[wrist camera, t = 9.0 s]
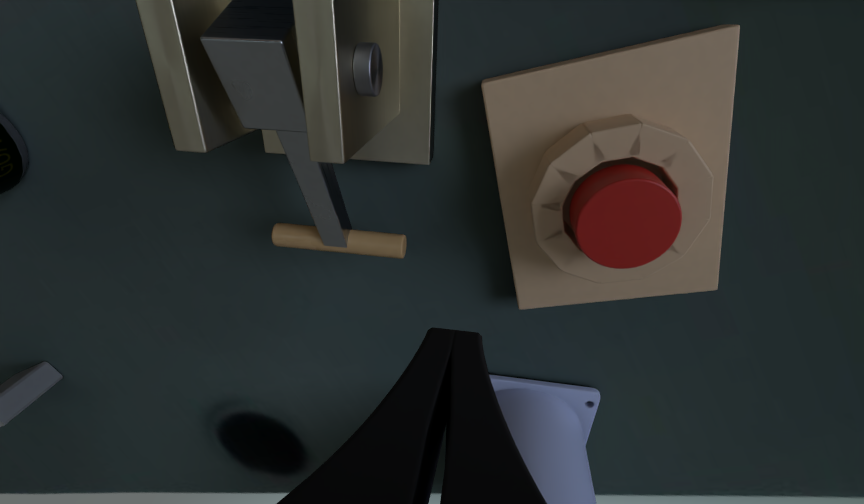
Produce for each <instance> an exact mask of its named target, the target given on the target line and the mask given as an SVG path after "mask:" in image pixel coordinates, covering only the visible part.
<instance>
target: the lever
mask: <svg viewBox="0 0 864 504" xmlns="http://www.w3.org/2000/svg"><path fill="white" fill-rule="evenodd" d="M200 41H201V43H202V45H203V47H204V49H205V51H206V53H207V55H208V57H209V59H210V61H211V63H212V65H213V67H214V69H215V71H216V73H217V75H218V77H219V79H220V81H221V83H222V85H223V87H224V89H225V91H226V93H227V95H228V97H229V99H230V101H231V103H232V105H233V107H234V109H235V111H236V113H237V115H238V117H239V120H240V122H241V124H242V126H243V127H244V128H248V129H262V130H276V132H277V135H278V137H279V139H280V142H281V144H282V146H283V149H284V151H285V154H286V156H287V158H288V161H289V163H290V165H291V168H292V170H293V173H294V175H295V177H296V180H297V182H298V184H299V187H300V189H301V192H302V194H303V196H304V199H305V201H306V204H307V206H308V208H309V211H310V213H311V215H312V218H313V220H314V223H315V225H316V226H308V225H298V224H287V223H277V224H275V225H274V227H273V230H272V241H273V244H274V245H276V246H281V247H291V248H301V249H311V250H321V251H331V252H341V253H350V254H360V255H370V256H380V257H390V258H400V259H402V258H404V255H405V252H406V236H405V235H403V234H393V233H382V232H372V231H361V230H352V227H351V224H350V220H349V217H348V214H347V211H346V208H345V204H344V201H343V198H342V195H341V191H340V188H339V185H338V182H337V179H336V175H335V172H334V169H333V166H332V163H326V162H313V161H310V155H309V146H308V137H307V128H306V119H305V110H304V101H303V92H302V83H301V74H300V65H299V56H298V47H297V38H296V29H295V20H294V11H293V2H292V0H232V1H231V2H230V3H229V4H228V5H227V6H226V8H225V9H224V10H223V11H222V12H221V14H220V15H219V16H218V17H217V18H216V19H215V21H214V22H213V23H212V24H211V25H210V26H209V28H208V29H207V30H206V31H205V32H204V34H203V35H202V36H201V37H200Z"/></svg>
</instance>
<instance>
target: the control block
mask: <svg viewBox="0 0 864 504" xmlns="http://www.w3.org/2000/svg"><path fill="white" fill-rule="evenodd" d="M739 33H740V26H739V25H719V26H715V27H711V28H706V29H702V30H698V31H693V32H689V33H684V34H680V35H676V36H671V37H667V38H663V39H658V40H654V41H649V42H645V43H641V44H636V45H632V46H628V47H623V48H619V49H615V50H610V51H606V52H601V53H597V54H593V55H588V56H584V57H580V58H575V59H571V60H567V61H562V62H558V63H553V64H549V65H545V66H540V67H536V68H532V69H527V70H523V71H518V72H514V73H510V74H505V75H501V76H497V77H492V78H488V79H484V80H483V81H482V85H481V87H482V93H483V99H484V105H485V111H486V117H487V123H488V129H489V135H490V141H491V147H492V153H493V159H494V164H495V170H496V176H497V182H498V188H499V194H500V200H501V206H502V212H503V218H504V224H505V230H506V236H507V242H508V248H509V254H510V260H511V266H512V272H513V278H514V284H515V290H516V296H517V302H518V308H519V309H531V308H541V307H551V306H561V305H571V304H581V303H591V302H601V301H611V300H622V299H632V298H642V297H652V296H662V295H672V294H682V293H692V292H702V291H712V290H717V288H718V276H719V265H720V253H721V241H722V230H723V218H724V207H725V195H726V183H727V172H728V160H729V149H730V137H731V125H732V114H733V102H734V91H735V79H736V67H737V56H738V44H739ZM620 164H630V165H637V166H640V167H643V168H645V169H648V170H649V171H651V172H652V173H654V174H655V175H656V176H657V177H658V178H659V179H660V180H661V181H662V182H663V183H664V184H665V185H666V186H667V187H668V188H669V189H670V190H671V191H672V192H673V193H674V195H675V196H676V198H677V199H678V201H679V203H680V206H681V210H682V223H681V228H680V231H679V234H678V236H677V238H676V240H675V241H674V243H673V244H672V245H671V247H670V248H669V249H668V250H667V251H666V252H665V253H663V254H662V255H661V256H660V257H658V258H657V259H655V260H653V261H651V262H649V263H647V264H645V265H642V266H639V267H635V268H629V269H615V268H609V267H605V266H602V265H600V264H597V263H596V262H594V261H592V260H591V259H589V258H588V257H587V256H586V255H585V254H584V253H583V252H582V250H581V249H580V247H579V245H578V243H577V240H576V237H575V234H574V231H573V228H572V225H571V222H570V217H569V209H570V203H571V200H572V197H573V195H574V193H575V191H576V190H577V188H578V187H579V186H580V184H581V183H582V182H583V181H584V180H585V179H587V178H588V177H589V176H590V175H592V174H593V173H595V172H597V171H599V170H601V169H603V168H606V167H609V166H613V165H620Z"/></svg>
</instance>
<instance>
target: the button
mask: <svg viewBox="0 0 864 504" xmlns="http://www.w3.org/2000/svg"><path fill="white" fill-rule="evenodd" d="M569 217H570V222H571V225H572V228H573V231H574V234H575V237H576V240H577V243H578V245H579V247H580V249H581V250H582V252H583V253H584V254H585V255H586V256H587V257H588V258H589V259H591V260H592V261H594V262H596V263H597V264H600V265H602V266H605V267H609V268H615V269H629V268H635V267H639V266H642V265H645V264H647V263H649V262H651V261H653V260H655V259H657V258H658V257H660V256H661V255H662V254H663V253H665V252H666V251H667V250H668V249H669V248H670V247H671V245H672V244H673V243H674V241H675V240H676V238H677V236H678V234H679V231H680V228H681V223H682V210H681V206H680V203H679V201H678V199H677V198H676V196H675V195H674V193H673V192H672V191H671V190H670V189H669V188H668V187H667V186H666V185H665V184H664V183H663V182H662V181H661V180H660V179H659V178H658V177H657V176H656V175H655V174H654V173H652V172H651V171H649V170H648V169H645V168H643V167H640V166H637V165H630V164H620V165H613V166H609V167H606V168H603V169H601V170H599V171H597V172H595V173H593V174H592V175H590V176H589V177H588V178H587V179H585V180H584V181H583V182H582V183H581V184H580V186H579V187H578V188H577V190H576V191H575V193H574V195H573V197H572V200H571V203H570V209H569Z"/></svg>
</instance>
